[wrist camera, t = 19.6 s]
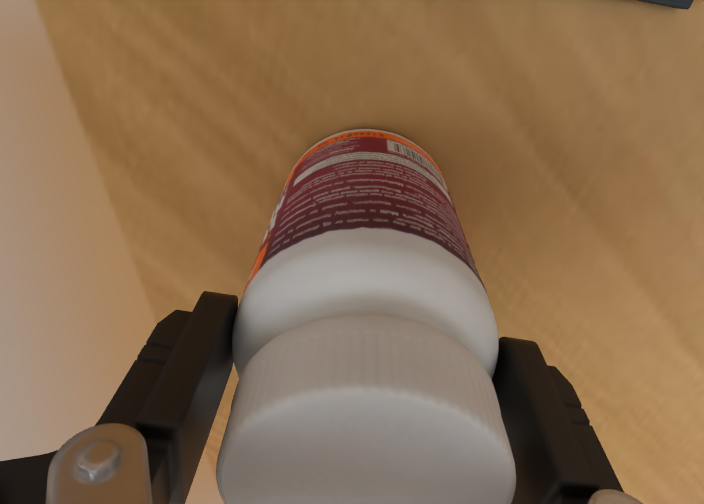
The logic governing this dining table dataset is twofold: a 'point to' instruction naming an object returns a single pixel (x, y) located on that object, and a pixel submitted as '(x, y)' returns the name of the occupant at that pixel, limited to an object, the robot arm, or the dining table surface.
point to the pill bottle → (365, 342)
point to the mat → (671, 3)
